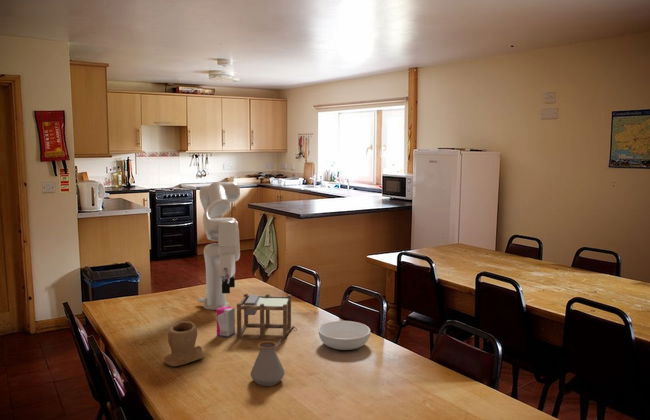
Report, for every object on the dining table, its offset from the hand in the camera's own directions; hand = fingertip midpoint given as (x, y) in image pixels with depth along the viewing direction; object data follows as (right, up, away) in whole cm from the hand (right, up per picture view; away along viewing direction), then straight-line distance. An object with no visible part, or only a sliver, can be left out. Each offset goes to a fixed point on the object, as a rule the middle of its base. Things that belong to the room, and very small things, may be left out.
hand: (228, 290), depth 223 cm
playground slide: (+16, -9, +3) cm, 19 cm away
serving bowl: (+48, -21, -10) cm, 54 cm away
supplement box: (-1, -19, +1) cm, 19 cm away
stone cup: (-11, -23, -27) cm, 37 cm away
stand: (+15, -19, +4) cm, 24 cm away
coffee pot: (+24, -24, -39) cm, 51 cm away
